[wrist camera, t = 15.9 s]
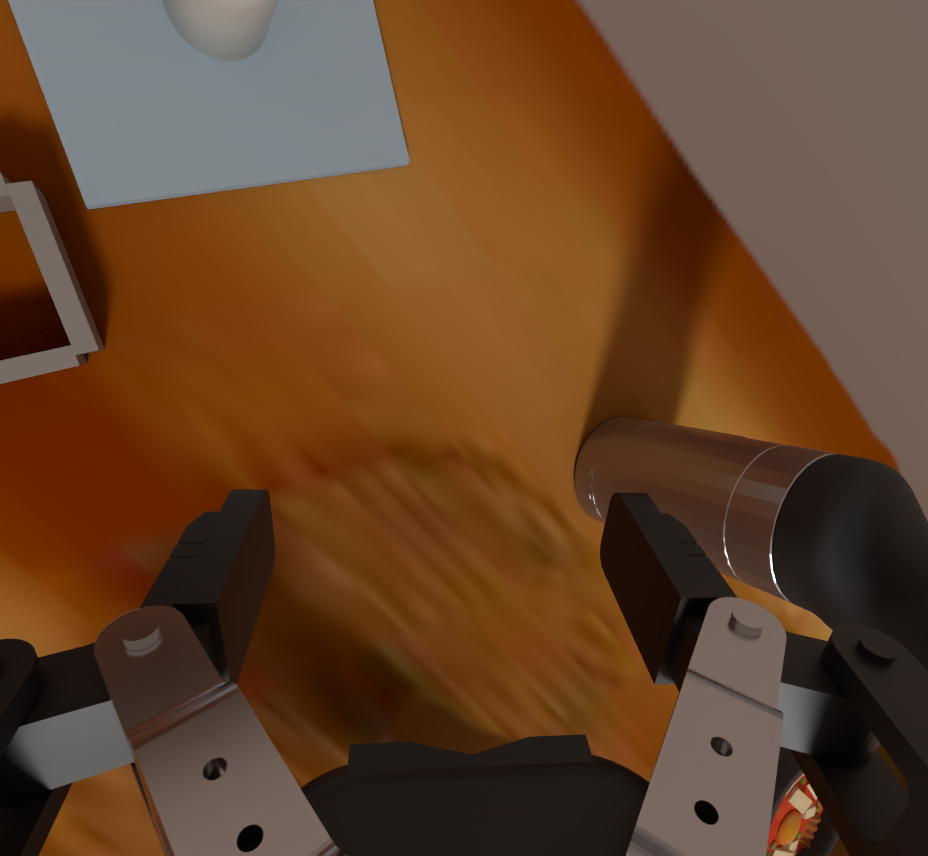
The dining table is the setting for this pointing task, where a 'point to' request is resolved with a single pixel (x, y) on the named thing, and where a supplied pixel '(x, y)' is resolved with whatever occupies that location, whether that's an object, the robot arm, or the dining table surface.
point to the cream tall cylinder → (222, 25)
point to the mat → (211, 98)
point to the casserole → (797, 815)
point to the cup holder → (49, 285)
